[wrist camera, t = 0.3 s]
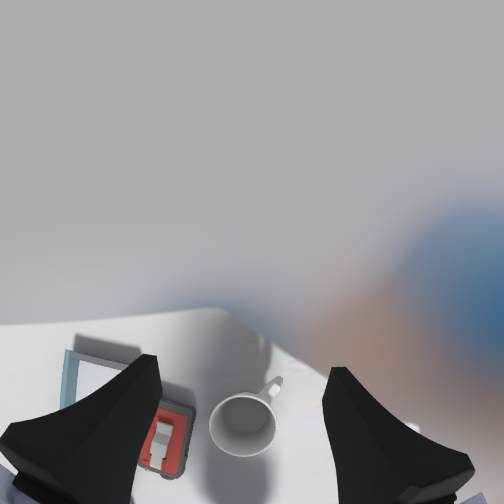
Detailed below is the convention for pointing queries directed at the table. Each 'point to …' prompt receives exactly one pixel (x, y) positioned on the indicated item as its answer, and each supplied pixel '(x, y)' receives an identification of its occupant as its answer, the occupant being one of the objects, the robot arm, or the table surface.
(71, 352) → the tray
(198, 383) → the table surface
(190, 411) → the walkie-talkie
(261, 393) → the mug
